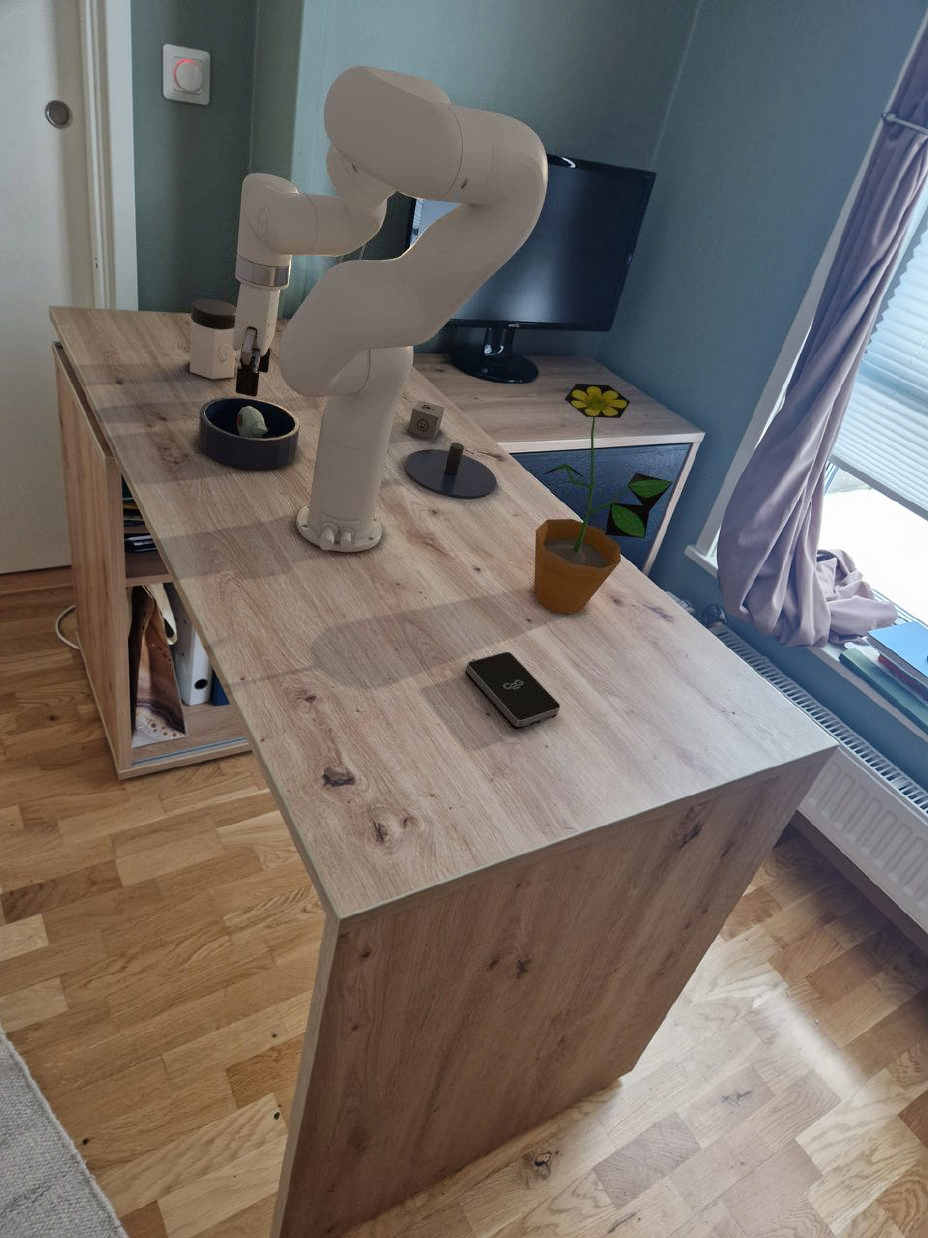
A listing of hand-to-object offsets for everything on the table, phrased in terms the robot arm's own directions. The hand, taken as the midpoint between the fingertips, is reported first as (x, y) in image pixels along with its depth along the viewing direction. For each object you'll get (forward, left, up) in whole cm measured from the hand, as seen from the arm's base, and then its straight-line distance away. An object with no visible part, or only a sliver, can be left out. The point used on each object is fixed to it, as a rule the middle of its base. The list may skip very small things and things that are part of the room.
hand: (252, 381), depth 129 cm
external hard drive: (-51, -41, -11) cm, 67 cm away
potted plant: (-28, -50, -11) cm, 59 cm away
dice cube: (+20, -29, -11) cm, 37 cm away
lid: (+4, -34, -11) cm, 36 cm away
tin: (0, 0, -11) cm, 11 cm away
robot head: (0, 0, -11) cm, 11 cm away
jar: (+28, +12, -11) cm, 32 cm away
